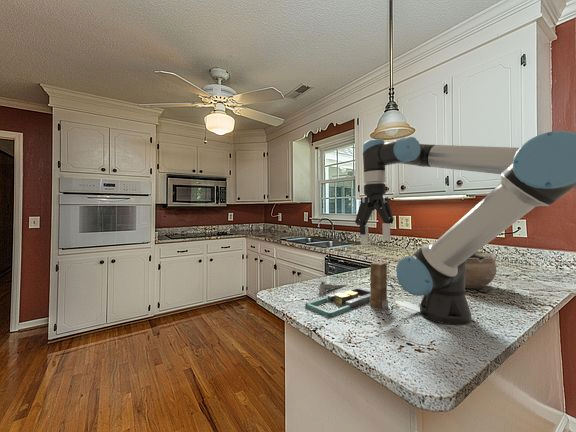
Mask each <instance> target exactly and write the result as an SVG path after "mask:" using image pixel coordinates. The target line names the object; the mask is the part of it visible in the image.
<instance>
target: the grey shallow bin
mask: <svg viewBox="0 0 576 432" xmlns="http://www.w3.org/2000/svg"><path fill="white" fill-rule="evenodd" d="M347 291H353V292H357V293H358V298H355V299H352V300H349V301H346V305H340V304H337V303H335V294H339V293H344V292H347ZM370 297H371V290H367V289H364V288H360V287H356V286H354V287H352V288H351V287H350V288H348V289H345V290H342V291H337V292H335V293H331V294H328V295H327V296H326V298H327V302H330V303H332V304H335V305H338V306H341V307H344V306H347V305H349V306H350V310H354V309H355V308H358V307H362V306H363V305H366V304H370Z"/></svg>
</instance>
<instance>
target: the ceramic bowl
mask: <svg viewBox="0 0 576 432" xmlns="http://www.w3.org/2000/svg"><path fill="white" fill-rule="evenodd" d="M497 257H498V256H497V255H495V254H494V253H493V254H492V253H491V254H489V253H485V252H479V251H477V252H476V253H474V254H473V255H472V256H471V257H469V258H468V259H467V260H466V264H465V289H482V288H484V287H487V286H488V285H489V284H490V283H491V282H493V280H494V278H495V276H496V274H497V265H496V260H497Z"/></svg>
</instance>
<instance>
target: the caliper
mask: <svg viewBox="0 0 576 432" xmlns="http://www.w3.org/2000/svg"><path fill="white" fill-rule="evenodd" d="M320 282H321V283H320V284H319V289H318V294H320V295H321V294H323V293H324V294H325V293H327V291H332V289H333V290H334V289H341V288H343V287H346V286H348V284H332V283H326V282H325V281H320Z"/></svg>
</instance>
